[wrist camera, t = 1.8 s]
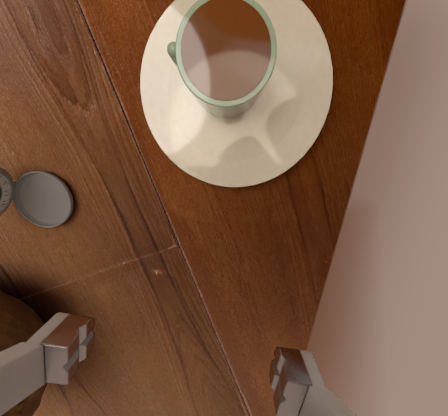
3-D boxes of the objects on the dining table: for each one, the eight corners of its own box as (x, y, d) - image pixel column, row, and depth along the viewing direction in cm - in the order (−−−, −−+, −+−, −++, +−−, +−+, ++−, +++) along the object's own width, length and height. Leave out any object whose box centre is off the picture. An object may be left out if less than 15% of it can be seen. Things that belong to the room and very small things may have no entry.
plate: (345, 12, 21) (360, -5, 19) (297, 195, 26) (304, 200, 24) (156, -24, 21) (147, -46, 18) (142, 169, 26) (133, 171, 23)
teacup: (271, 43, 20) (288, -1, 14) (255, 123, 22) (265, 114, 16) (185, 27, 20) (166, -24, 14) (176, 109, 22) (156, 95, 16)
